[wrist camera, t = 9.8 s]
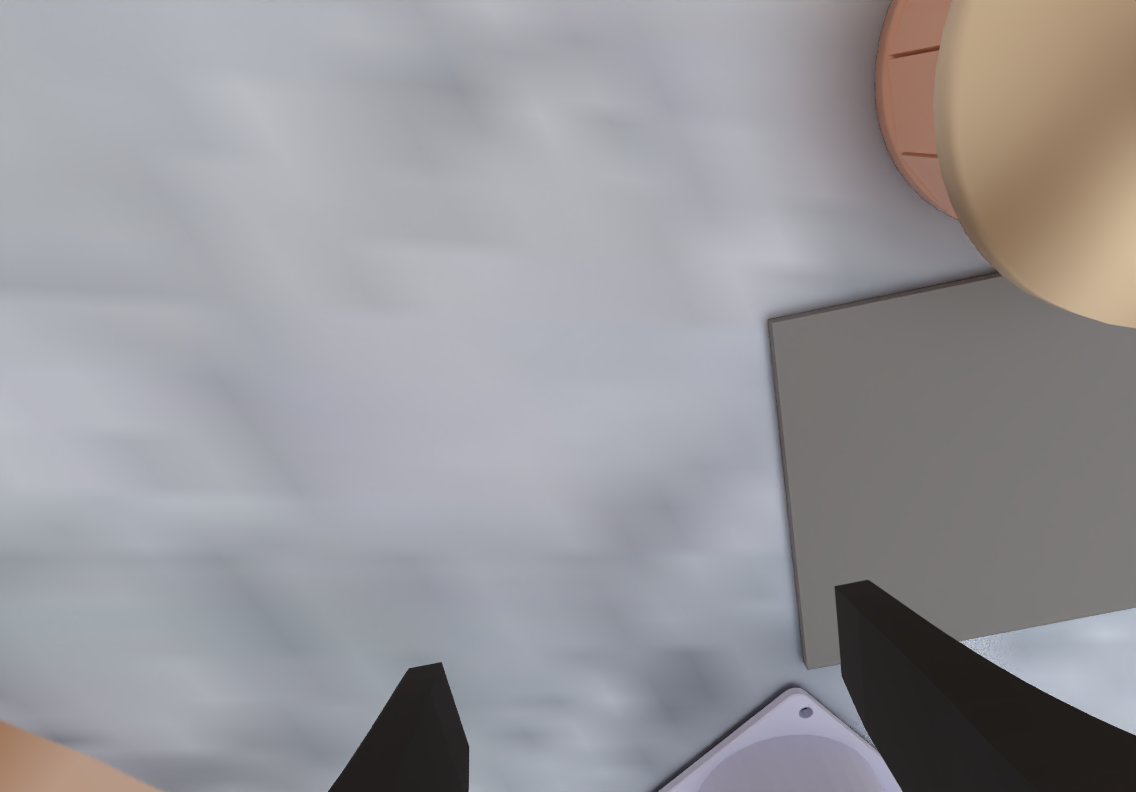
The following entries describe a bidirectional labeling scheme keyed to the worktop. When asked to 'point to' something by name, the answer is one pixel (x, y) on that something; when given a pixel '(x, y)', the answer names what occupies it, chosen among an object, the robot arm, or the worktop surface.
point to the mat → (958, 458)
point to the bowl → (912, 93)
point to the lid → (1044, 145)
